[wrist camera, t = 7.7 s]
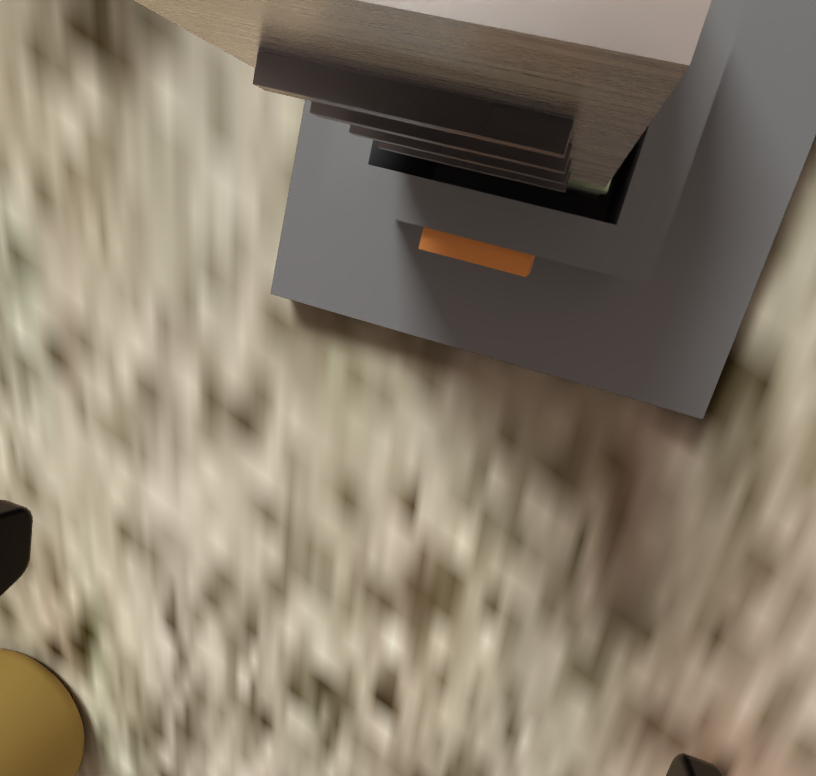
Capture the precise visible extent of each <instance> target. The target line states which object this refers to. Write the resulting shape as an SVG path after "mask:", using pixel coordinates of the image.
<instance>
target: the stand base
mask: <svg viewBox="0 0 816 776" xmlns="http://www.w3.org/2000/svg"><path fill="white" fill-rule="evenodd" d="M311 102H312V101H309V100H305V104H304V109H303V115H302V120H301V126H300V132H299V137H298V143H297V148H296V154H295V160H294V165H293V171H292V176H291V182H290V188H289V193H288V199H287V204H286V210H285V216H284V221H283V227H282V232H281V238H280V243H279V249H278V255H277V260H276V266H275V271H274V277H273V283H272V288H271V294H273V295H276V296H280V297H283V298H286V299H290V300H293V301H297V302H300V303H304V304H307V305H311V306H314V307H317V308H321V309H324V310H328V311H331V312H335V313H338V314H342V315H345V316H348V317H352V318H355V319H359V320H362V321H366V322H369V323H372V324H376V325H379V326H383V327H386V328H390V329H393V330H397V331H400V332H403V333H407V334H410V335H414V336H417V337H421V338H424V339H428V340H431V341H434V342H438V343H441V344H445V345H448V346H452V347H455V348H459V349H462V350H465V351H469V352H472V353H476V354H479V355H483V356H486V357H490V358H493V359H496V360H500V361H503V362H507V363H510V364H514V365H517V366H521V367H524V368H527V369H531V370H534V371H538V372H541V373H545V374H548V375H552V376H555V377H558V378H562V379H565V380H569V381H572V382H576V383H579V384H583V385H586V386H589V387H593V388H596V389H600V390H603V391H607V392H610V393H614V394H617V395H620V396H624V397H627V398H631V399H634V400H638V401H641V402H645V403H648V404H651V405H655V406H658V407H662V408H665V409H669V410H672V411H675V412H679V413H682V414H686V415H689V416H693V417H696V418H700V419H703V417H704V415H705V412H706V410H707V407H708V405H709V402H710V400H711V397H712V395H713V392H714V390H715V387H716V385H717V382H718V380H719V377H720V375H721V372H722V370H723V367H724V365H725V362H726V359H727V357H728V354H729V352H730V349H731V347H732V344H733V342H734V339H735V337H736V334H737V332H738V329H739V327H740V324H741V322H742V319H743V317H744V314H745V312H746V309H747V307H748V304H749V302H750V299H751V297H752V294H753V292H754V289H755V287H756V284H757V281H758V279H759V276H760V274H761V271H762V269H763V266H764V264H765V261H766V259H767V256H768V254H769V251H770V249H771V246H772V244H773V241H774V239H775V236H776V234H777V231H778V229H779V226H780V224H781V221H782V219H783V216H784V214H785V211H786V209H787V206H788V204H789V201H790V198H791V196H792V193H793V191H794V188H795V186H796V183H797V181H798V178H799V176H800V173H801V171H802V168H803V166H804V163H805V161H806V158H807V156H808V153H809V151H810V148H811V146H812V143H813V141H814V138H815V136H816V0H711V3H710V6H709V9H708V12H707V15H706V18H705V21H704V24H703V27H702V30H701V33H700V36H699V39H698V42H697V45H696V48H695V51H694V54H693V57H692V60H691V63H690V66H689V67H688V69H687V70H686V72H685V73H684V75H683V76H682V77H681V79H680V80H679V82H678V83H677V85H676V86H675V88H674V89H673V90H672V92H671V93H670V95H669V96H668V98H667V99H666V101H665V102H664V103H663V105H662V106H661V108H660V109H659V111H658V112H657V114H656V115H655V116H654V118H653V119H652V121H651V122H650V124H649V125H648V126H647V128H646V129H645V131H644V132H643V134H642V135H641V137H640V138H639V139H638V141H637V142H636V144H635V145H634V147H633V148H632V150H631V151H630V152H629V154H628V155H627V157H626V158H625V160H624V161H623V163H622V164H621V165H620V167H619V168H618V170H617V171H616V173H615V174H614V176H613V177H612V180H611V183H610V186H609V189H608V192H607V193H606V194H605V195H604V194H600V196H599V197H598V199H597V200H595V199H590V198H586V197H582V196H578V195H574V194H570V193H564V192H559V191H555V190H551V189H547V188H543V187H538V186H534V185H530V184H526V183H522V182H517V181H513V180H509V179H505V178H501V177H496V176H492V175H488V174H484V173H480V172H475V171H471V170H467V169H463V168H459V167H454V166H450V165H446V164H442V163H438V162H433V161H429V160H425V159H421V158H417V157H412V156H408V155H404V154H400V153H396V152H392V151H387V150H383V149H381V148H379V147H378V144H379V141H376V140H372V139H368V138H363V137H359V136H355V135H353V134H351V133H349V129H350V124H346V123H342V122H338V121H333V120H329V119H325V118H320V117H317V116H315V115H313V114H311V113H310V107H311Z"/></svg>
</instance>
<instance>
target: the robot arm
mask: <svg viewBox="0 0 816 776" xmlns="http://www.w3.org/2000/svg"><path fill="white" fill-rule="evenodd" d="M32 523H33V517H32V514H31V512H30V510H28V509H27V508H26V507H23V506H20V505H18V504H15V503H12V502H10V501H6V500H0V596H1V595H2V594H3V593H4V592H5V591H6V590H7V589H8V588H9V587H10V586H11V585H13V584H14V583H15V582H16V581H17V580H18V579H19V578H20V577H21V575H22V574H23V573H24V571H25V570H26V568H27V566H28V563H29V560H30V551H31V537H32ZM666 776H724V775H723V773H722V772H721V771H720V770H719V769H718V768H717V767H716V766H715V765H713V764H711V763H709V762H706V761H703V760H701V759H698V758H695V757H693V756H690V755H687V754H684V753H682V754H679V755H677V756H676V757H675V758H674V759H673V761H672V763H671V765H670V768H669V770H668V772H667V774H666Z"/></svg>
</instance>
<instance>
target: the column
mask: <svg viewBox="0 0 816 776" xmlns="http://www.w3.org/2000/svg"><path fill="white" fill-rule="evenodd" d="M134 1H136V2H138V3H139V4H141V5H143V6H145V7H146V8H148V9H150V10H152V11H154V12H155V13H157V14H159V15H161V16H163V17H164V18H166V19H168V20H170V21H172V22H173V23H175V24H177V25H179V26H181V27H182V28H184V29H186V30H188V31H189V32H191V33H193V34H195V35H197V36H198V37H200V38H202V39H204V40H206V41H207V42H209V43H211V44H213V45H215V46H216V47H218V48H220V49H222V50H224V51H225V52H227V53H229V54H231V55H232V56H234V57H236V58H238V59H240V60H241V61H243V62H245V63H247V64H249V65H250V66H252V67H254V68H255V73H254V80H253V84H254V85H256V86H258V87H260V88H262V89H264V90H266V91H270V92H274V93H279V94H283V95H287V96H292V97H296V98H300V99H305V100H309V101H312V102H311V107H310V113H311V114H313V115H315V116H317V117H320V118H325V119H329V120H333V121H338V122H342V123H346V124H350V129H349V133H351V134H353V135H355V136H359V137H363V138H368V139H372V140H376V141H379V144H378V147H379V148H381V149H383V150H387V151H392V152H396V153H400V154H404V155H408V156H412V157H417V158H421V159H425V160H429V161H433V162H438V163H442V164H446V165H450V166H454V167H459V168H463V169H467V170H471V171H475V172H480V173H484V174H488V175H492V176H496V177H501V178H505V179H509V180H513V181H517V182H522V183H526V184H530V185H534V186H538V187H543V188H547V189H551V190H555V191H559V192H564V193H570V194H574V195H578V196H582V197H586V198H590V199H595V200H597V199H598V197H599V196H600V194H604V195H605V194H606V193H607V192H608V189H609V186H610V183H611V180H612V177H613V176H614V174H615V173H616V171H617V170H618V168H619V167H620V165H621V164H622V163H623V161H624V160H625V158H626V157H627V155H628V154H629V152H630V151H631V150H632V148H633V147H634V145H635V144H636V142H637V141H638V139H639V138H640V137H641V135H642V134H643V132H644V131H645V129H646V128H647V126H648V125H649V124H650V122H651V121H652V119H653V118H654V116H655V115H656V114H657V112H658V111H659V109H660V108H661V106H662V105H663V103H664V102H665V101H666V99H667V98H668V96H669V95H670V93H671V92H672V90H673V89H674V88H675V86H676V85H677V83H678V82H679V80H680V79H681V77H682V76H683V75H684V73H685V72H686V70H687V69H688V67H689V66H690V63H691V60H692V57H693V54H694V51H695V48H696V45H697V42H698V39H699V36H700V33H701V30H702V27H703V24H704V21H705V18H706V15H707V12H708V9H709V6H710V3H711V0H134Z"/></svg>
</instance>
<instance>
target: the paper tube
mask: <svg viewBox="0 0 816 776" xmlns="http://www.w3.org/2000/svg"><path fill="white" fill-rule="evenodd" d="M84 743H85V737H84V728H83V723H82V719H81V717H80V714H79V711H78V709H77V707H76V704H75V703H74V701H73V699H72V697H71V695H70V694H69V692H68V691H67V689H66V688H65V687H64V685H63V684H62V683H61V682H60V681H59V680H58V678H57V677H56V676H55V675H54V674H53V673H51V672H50V671H49V670H48V669H47V668H45V667H44V666H43V665H41V664H40V663H38V662H37V661H35V660H34V659H32V658H30V657H28V656H26V655H24V654H21V653H19V652H16V651H12V650H7V649H0V776H75V775H76V774H77V772H78V770H79V767H80V764H81V761H82V756H83V751H84Z"/></svg>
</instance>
